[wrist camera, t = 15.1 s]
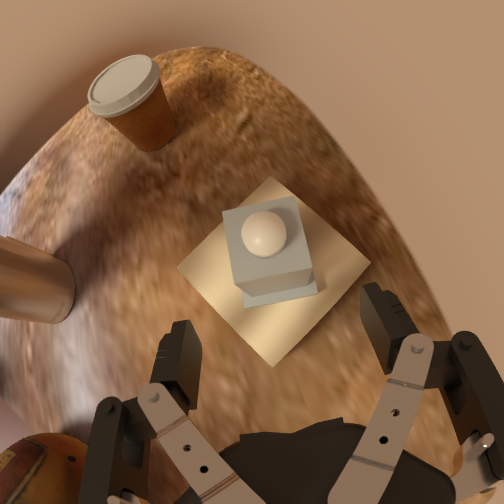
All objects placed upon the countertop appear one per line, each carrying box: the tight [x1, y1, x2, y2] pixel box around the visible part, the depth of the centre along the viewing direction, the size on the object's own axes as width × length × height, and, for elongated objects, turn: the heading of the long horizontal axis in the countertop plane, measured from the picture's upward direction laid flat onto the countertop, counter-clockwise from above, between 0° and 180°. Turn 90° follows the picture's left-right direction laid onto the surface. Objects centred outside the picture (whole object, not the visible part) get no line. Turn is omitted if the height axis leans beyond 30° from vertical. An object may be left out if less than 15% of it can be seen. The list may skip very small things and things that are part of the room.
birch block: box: [176, 176, 371, 367], centre depth 30 cm, size 13×13×5 cm
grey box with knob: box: [222, 195, 318, 309], centre depth 22 cm, size 6×6×10 cm
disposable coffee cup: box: [88, 55, 176, 151], centre depth 33 cm, size 10×10×12 cm
